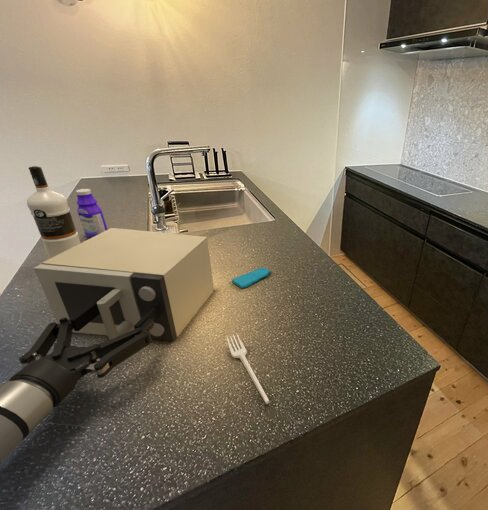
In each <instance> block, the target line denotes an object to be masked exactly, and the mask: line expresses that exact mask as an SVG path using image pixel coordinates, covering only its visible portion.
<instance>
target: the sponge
mask: <svg viewBox="0 0 488 510" xmlns="http://www.w3.org/2000/svg"><path fill="white" fill-rule="evenodd" d="M271 273H272V271H271V270H270V269H267V268H265V267H260V268H258V269H254V270H252V271H249V272H247V273H244V274H241V275H238V276H236V277H234V278H232V279H231V282H232V283H233V284H234V285H236V286H237V287H239V288H240V289H247V288H249V287H251V286H252V285H253V284H256V283H257V282H259V281H261V280H263V279H265V278H267V277H268V276H270V275H271Z"/></svg>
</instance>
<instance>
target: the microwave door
mask: <svg viewBox="0 0 488 510" xmlns="http://www.w3.org/2000/svg"><path fill="white" fill-rule="evenodd" d="M33 270H34V272H35V274H36V277H37V280H38V282H39V284H40V286H41V289H42V291H43V293H44V295H45V297H46V300H47V302H48V304H49V307H50V309H51V311H52V313H53V316H54V318H55V320H56V323H57V324H60V321H59V320H60V319H62V318H67V319H68V320H69V319H70V318H72V317H73V316H75V315H76V314H78V313H80V312H82V311H83V310H84V309H86V308H87V307H88V306H90V305H91V304H92V303H94V302H95V301H98V302H97V306H98V308H99V311H100V314H99V315H98V316H97V317H95V318H94V319H93V320H92V321H90V322H89V323H88V324H87V325H86V326H84V327H83V328H82V329H81V330H79V331H74V329H73V330H72V331H73V332H72V333H78V334H87V335H97V336H107V337H108V341H109V340H111V339H113V338H115V337H118V336H120V335H122V334H125V333H127V332H129V331H132V330H134V329H135V328H134V325H135V324H136V323H137V322H138V321H139V320H140V319H141V318H142V317H141V313H140V309H139V306H138V302H137V298H136V295H135V291H134V287H133V284H132V280H131V276H132V275H134V273H130V272H119V271H109V270H98V269H87V268H76V267H65V266H55V265H44V264H42V263H40V264H38V265H36V266H34V267H33ZM135 336H136V335H135Z"/></svg>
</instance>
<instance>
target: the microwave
mask: <svg viewBox="0 0 488 510" xmlns="http://www.w3.org/2000/svg"><path fill="white" fill-rule="evenodd" d="M208 241H209V240H208V237H207V236H203V235H202V236H199V235H191V234H181V233H169V232H161V231H160V232H157V231H150V230H149V231H147V230H137V229H129V228H128V229H127V228H117V227H110V228H107V230H106V231H104V232H102V233H100V234H98V235H96V236H94V237H92V238H90V237H89V239H87V240H84V241H82V242H81V243H80V244H78V245H76V246H74V247H72V248H70V249H68V250H66V251H64V252H62V253H60V254H58V255H56V256H55V257H53V258H51V259H49V260H48V259H46V260H44V261H43V262H41V264H44V265H55V266H65V267H76V268H87V269H98V270H109V271H119V272H130V273H134V275H132V276H131V280H132V284H133V287H134V291H135V295H136V298H137V302H138V306H139V309H140V313H141V317H143V316H144V315H145V314H147V313H148V312H149V311H150V310H151V309H152V308H153V307H154V306H158V310H159V314H160V317H159V318H158V319H157V320H156V321H155V322H154V327H153V328H152V329H151V330H150V331H149V333H150V336H151V340H152V341H162V342H172V343H173V342H175V340H176V339H178V337H179V336H180V334H181V333H182V332H183V331H184V329H185V328H186V327H187V326H188V324H189V323H190V322H191V320H192V319H193V318H194V316H196V314H197V313H198V312H199V310H200V309H201V308H202V306H203V305H204V304H205V303H206V301H207V300H208V299H209V297H210V296H211V295H212V293H213V292H214V291H215V287H214V279H213V272H212V271H213V270H212V265H211V264H212V263H211V258H210V257H211V256H210V249H209V242H208Z"/></svg>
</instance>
